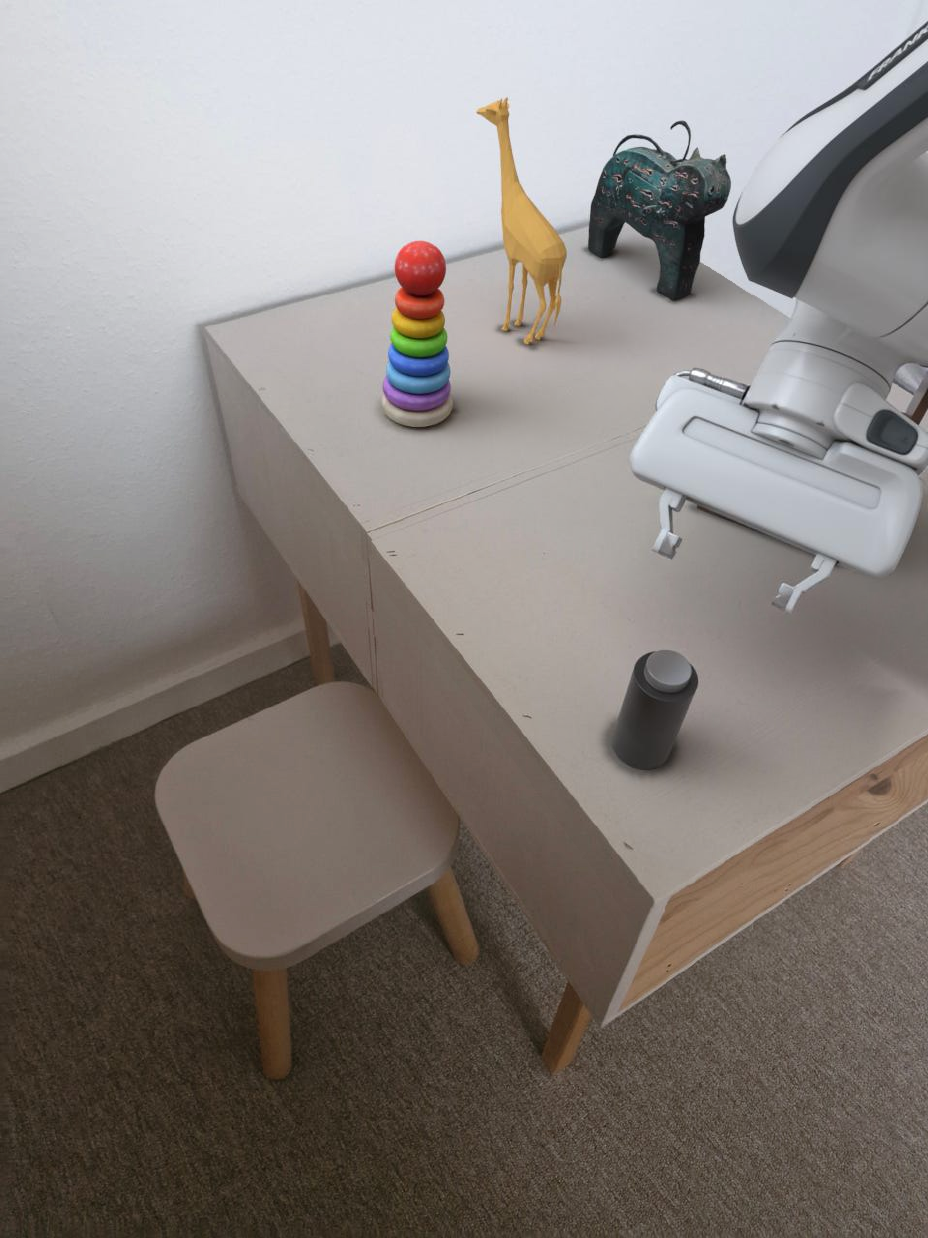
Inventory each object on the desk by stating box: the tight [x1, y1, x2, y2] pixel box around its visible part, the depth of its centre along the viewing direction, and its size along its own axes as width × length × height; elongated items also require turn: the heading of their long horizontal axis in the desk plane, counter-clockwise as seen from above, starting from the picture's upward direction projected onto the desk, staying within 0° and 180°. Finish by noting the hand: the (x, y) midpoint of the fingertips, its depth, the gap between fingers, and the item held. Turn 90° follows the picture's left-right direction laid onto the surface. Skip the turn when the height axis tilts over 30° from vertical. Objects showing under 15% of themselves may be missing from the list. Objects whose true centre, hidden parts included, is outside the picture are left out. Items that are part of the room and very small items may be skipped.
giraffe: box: [475, 96, 568, 346], centre depth 99 cm, size 16×4×25 cm, turn 39°
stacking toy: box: [380, 240, 454, 428], centre depth 88 cm, size 8×8×19 cm
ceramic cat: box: [587, 120, 732, 301], centre depth 112 cm, size 20×6×20 cm, turn 37°
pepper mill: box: [611, 649, 699, 770], centre depth 63 cm, size 5×5×10 cm
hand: (719, 581), depth 63 cm, fingers open, 8 cm apart
